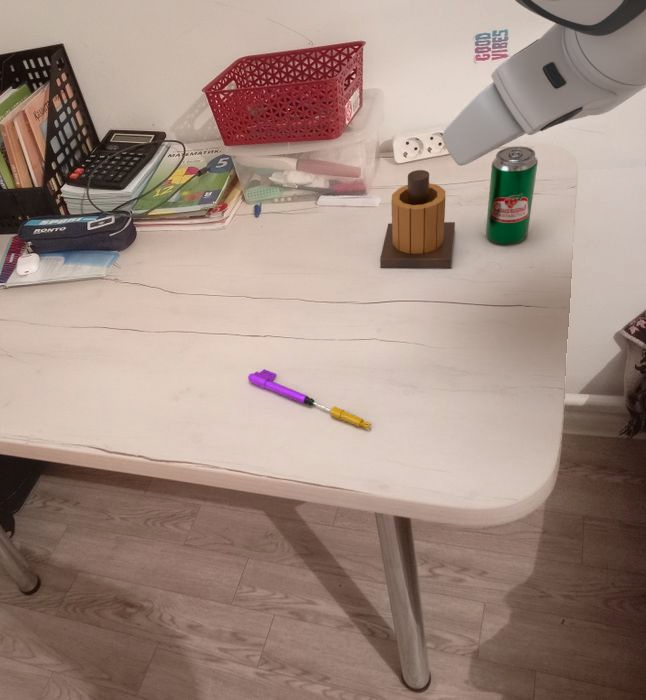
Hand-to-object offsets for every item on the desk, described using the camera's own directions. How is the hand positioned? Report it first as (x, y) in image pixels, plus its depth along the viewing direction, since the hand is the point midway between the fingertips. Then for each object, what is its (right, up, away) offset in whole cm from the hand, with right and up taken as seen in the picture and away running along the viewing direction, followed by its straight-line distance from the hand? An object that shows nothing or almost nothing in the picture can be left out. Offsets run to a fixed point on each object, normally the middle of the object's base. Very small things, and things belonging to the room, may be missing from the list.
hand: (494, 138), depth 66 cm
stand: (0, -8, +21) cm, 22 cm away
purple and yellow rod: (-19, -28, +5) cm, 34 cm away
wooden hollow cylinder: (0, -7, +20) cm, 21 cm away
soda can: (+11, -7, +18) cm, 23 cm away
